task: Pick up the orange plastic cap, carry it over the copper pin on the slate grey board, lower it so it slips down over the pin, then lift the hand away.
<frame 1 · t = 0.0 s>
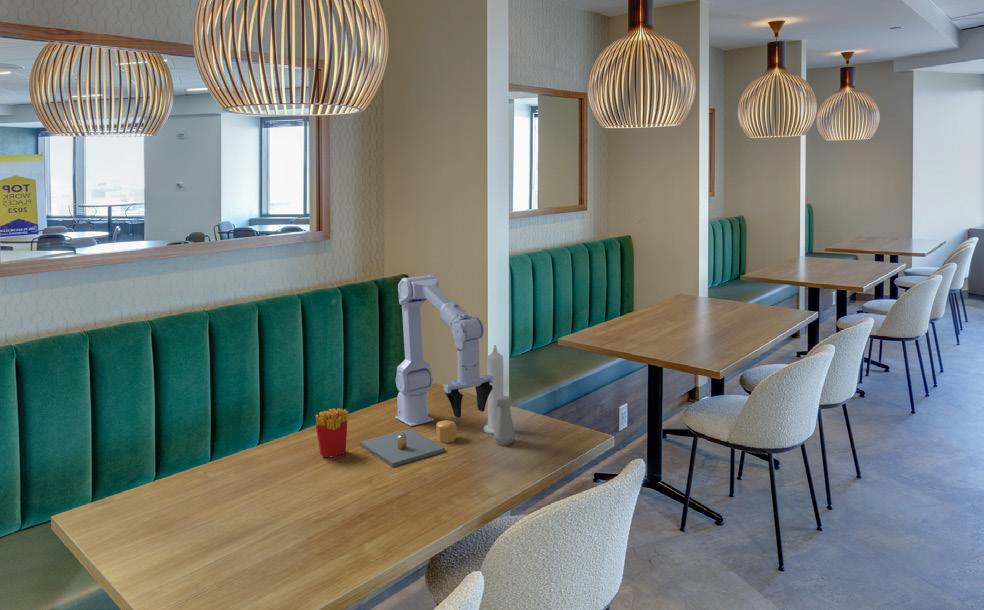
hand: (469, 413, 196), 10 cm above the table, tool pointing down, fingers open, 7 cm apart
candle: (496, 430, 212), on the table
salt shaker: (504, 443, 203), on the table
french fries: (334, 454, 197), on the table
board: (401, 448, 200), on the table
copper pin: (402, 451, 198), resting on board
cap: (446, 439, 206), on the table
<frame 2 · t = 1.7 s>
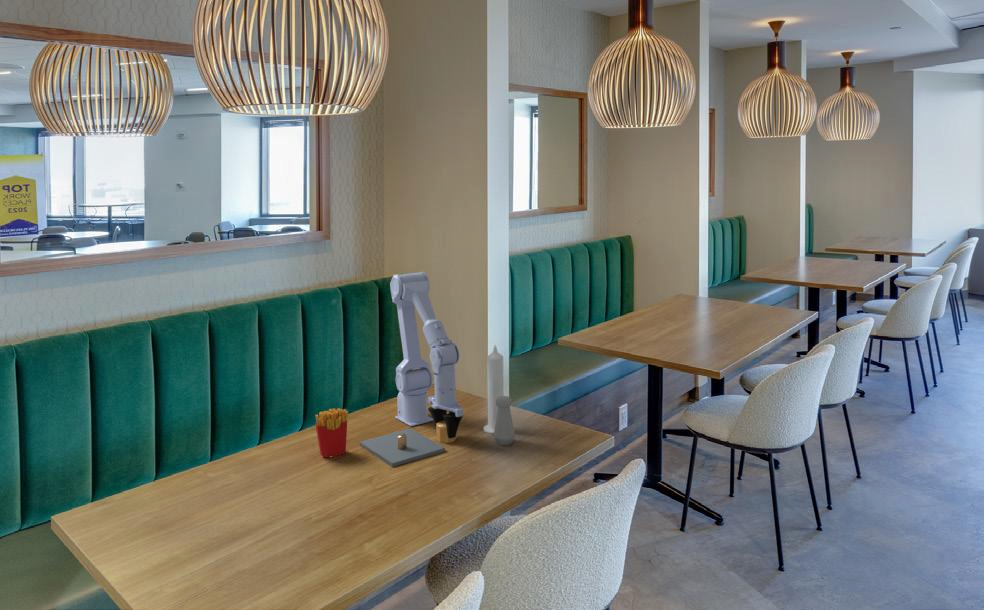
hand: (446, 434, 205), 1 cm above the table, tool pointing down, fingers closed on cap, 5 cm apart
cap: (446, 439, 206), on the table, touching gripper
everything else where it was.
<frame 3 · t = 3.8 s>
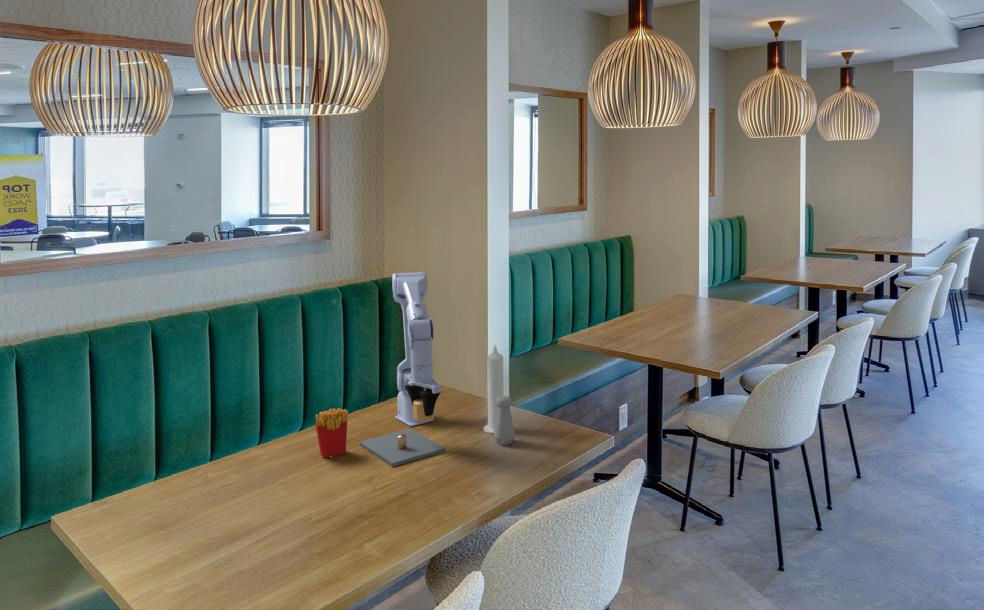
hand: (423, 412, 200), 9 cm above the table, tool pointing down, fingers closed on cap, 5 cm apart
cap: (423, 417, 200), point 8 cm above the table, touching gripper
everything else where it was.
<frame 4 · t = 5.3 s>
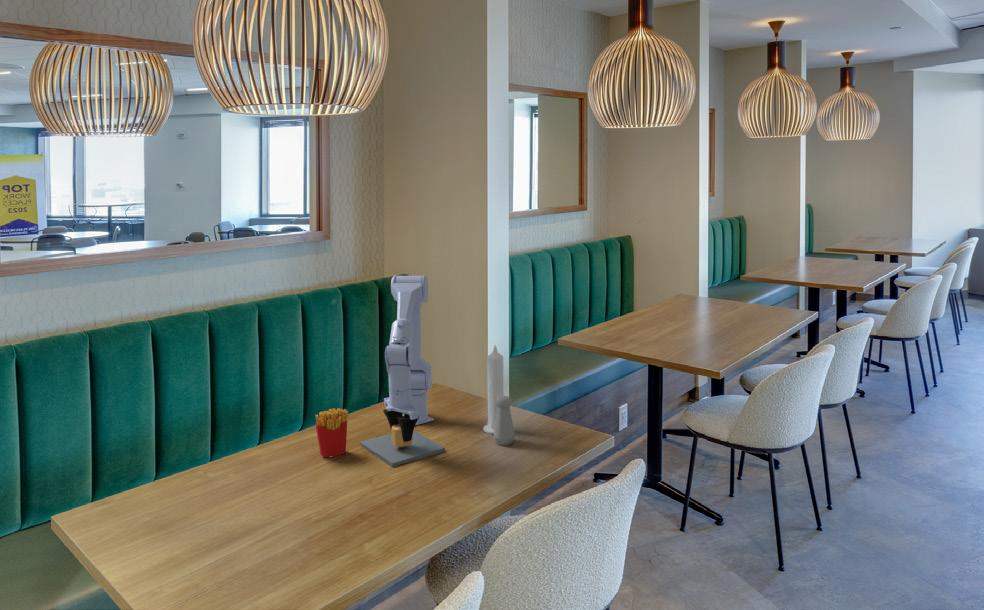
hand: (401, 437, 197), 4 cm above the table, tool pointing down, fingers closed on cap, 5 cm apart
cap: (402, 442, 197), point 3 cm above the table, touching gripper
everything else where it was.
when the fingers open (4 cm above the table, at t = 6.2 s): cap drops 1 cm, resting on board.
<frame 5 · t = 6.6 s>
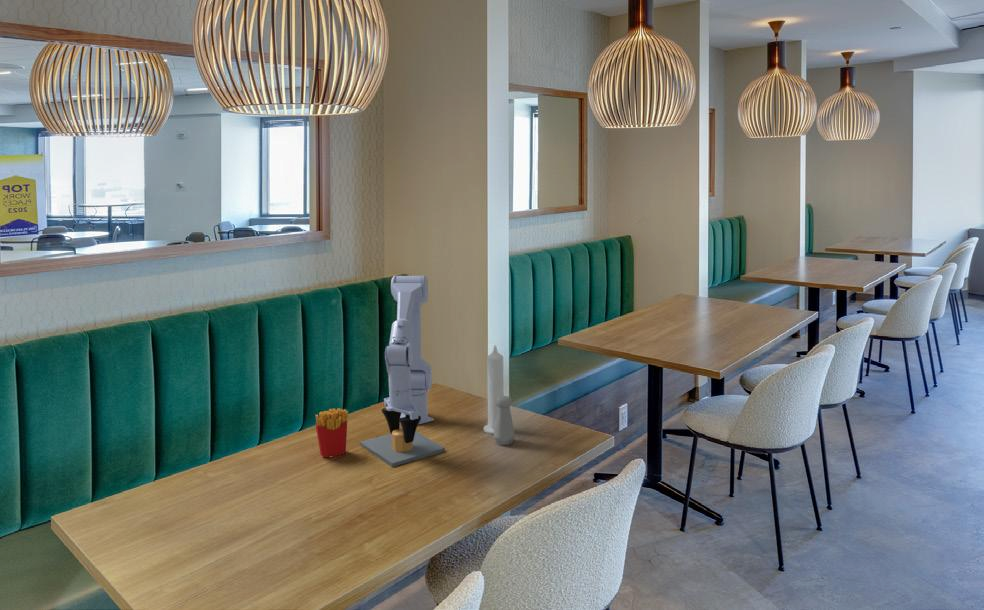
hand: (401, 437, 197), 4 cm above the table, tool pointing down, fingers open, 7 cm apart
cap: (402, 447, 197), point 1 cm above the table, touching board
everything else where it was.
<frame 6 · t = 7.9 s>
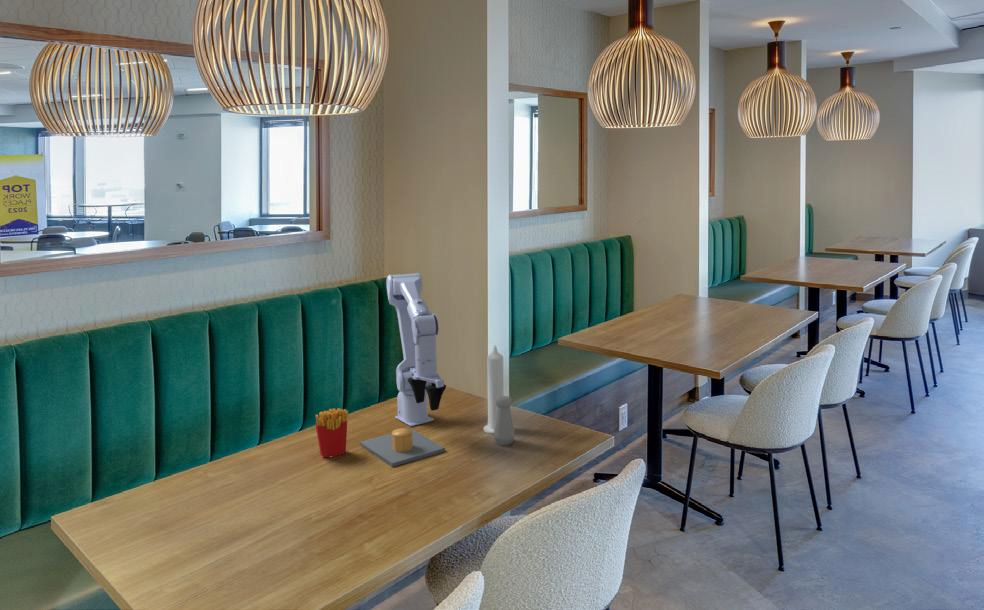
hand: (427, 405, 205), 9 cm above the table, tool pointing down, fingers open, 7 cm apart
nothing on the table moved.
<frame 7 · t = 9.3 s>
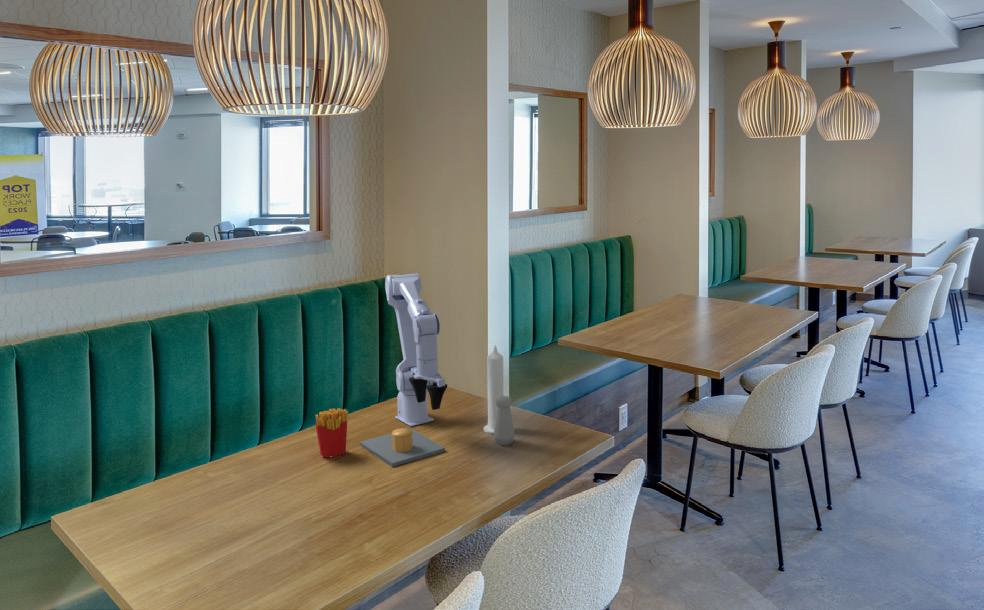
hand: (428, 405, 205), 9 cm above the table, tool pointing down, fingers open, 7 cm apart
nothing on the table moved.
at the end: cap 0.1 cm from the copper pin (horizontally); cap point 1.0 cm above the table; the gripper is holding nothing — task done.
